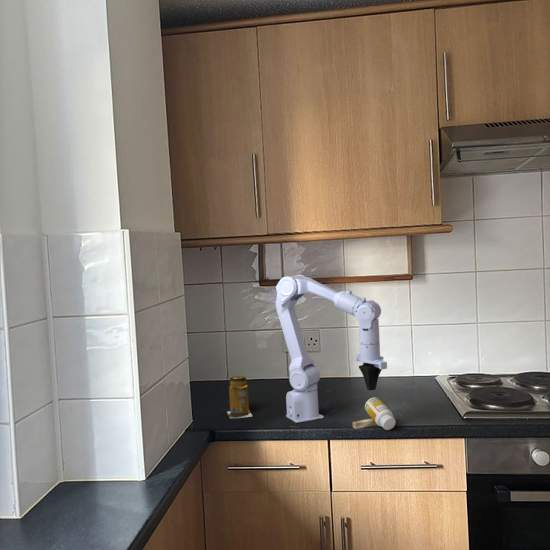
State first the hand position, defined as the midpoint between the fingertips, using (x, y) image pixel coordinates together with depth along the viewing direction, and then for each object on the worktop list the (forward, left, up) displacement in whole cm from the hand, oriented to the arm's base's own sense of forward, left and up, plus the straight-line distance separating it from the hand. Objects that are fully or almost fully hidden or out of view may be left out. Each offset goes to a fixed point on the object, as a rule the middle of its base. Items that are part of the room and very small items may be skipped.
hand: (371, 389), depth 166 cm
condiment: (-30, +32, -11) cm, 45 cm away
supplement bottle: (+1, +2, -5) cm, 5 cm away
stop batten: (0, 0, -10) cm, 10 cm away
